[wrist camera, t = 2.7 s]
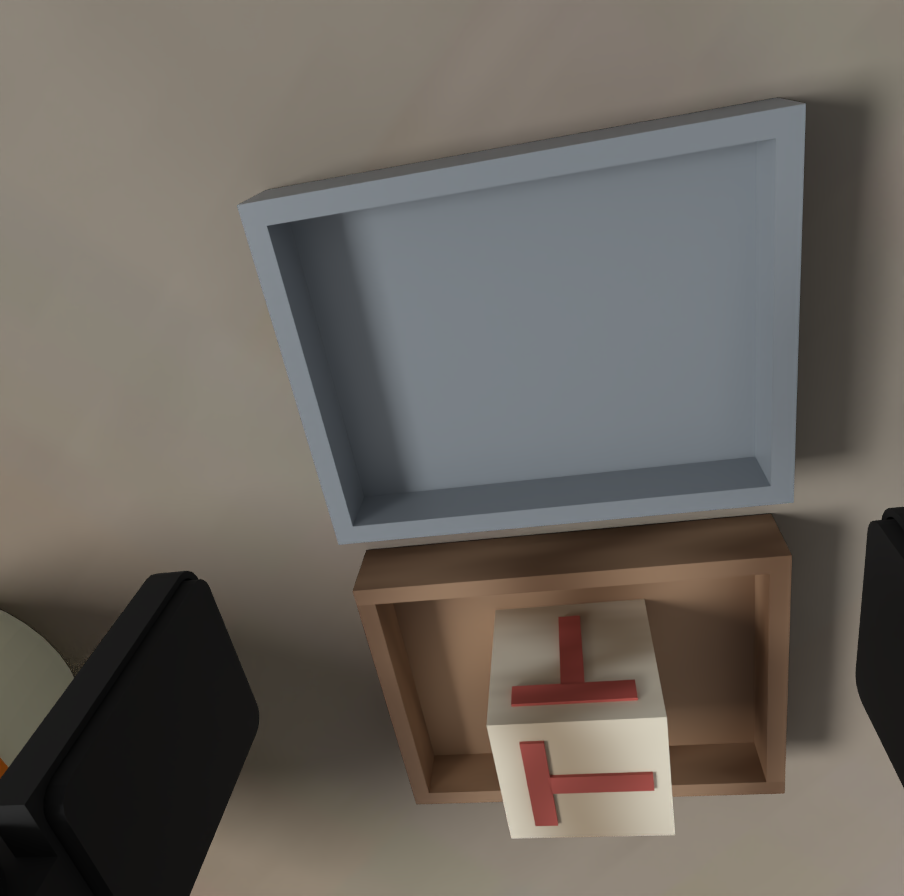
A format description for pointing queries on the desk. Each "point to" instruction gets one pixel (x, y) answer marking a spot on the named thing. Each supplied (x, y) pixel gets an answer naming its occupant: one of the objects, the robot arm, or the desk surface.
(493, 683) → the letter cube
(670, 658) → the walnut tray
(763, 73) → the desk surface
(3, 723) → the reusable coffee cup
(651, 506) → the grey tray
